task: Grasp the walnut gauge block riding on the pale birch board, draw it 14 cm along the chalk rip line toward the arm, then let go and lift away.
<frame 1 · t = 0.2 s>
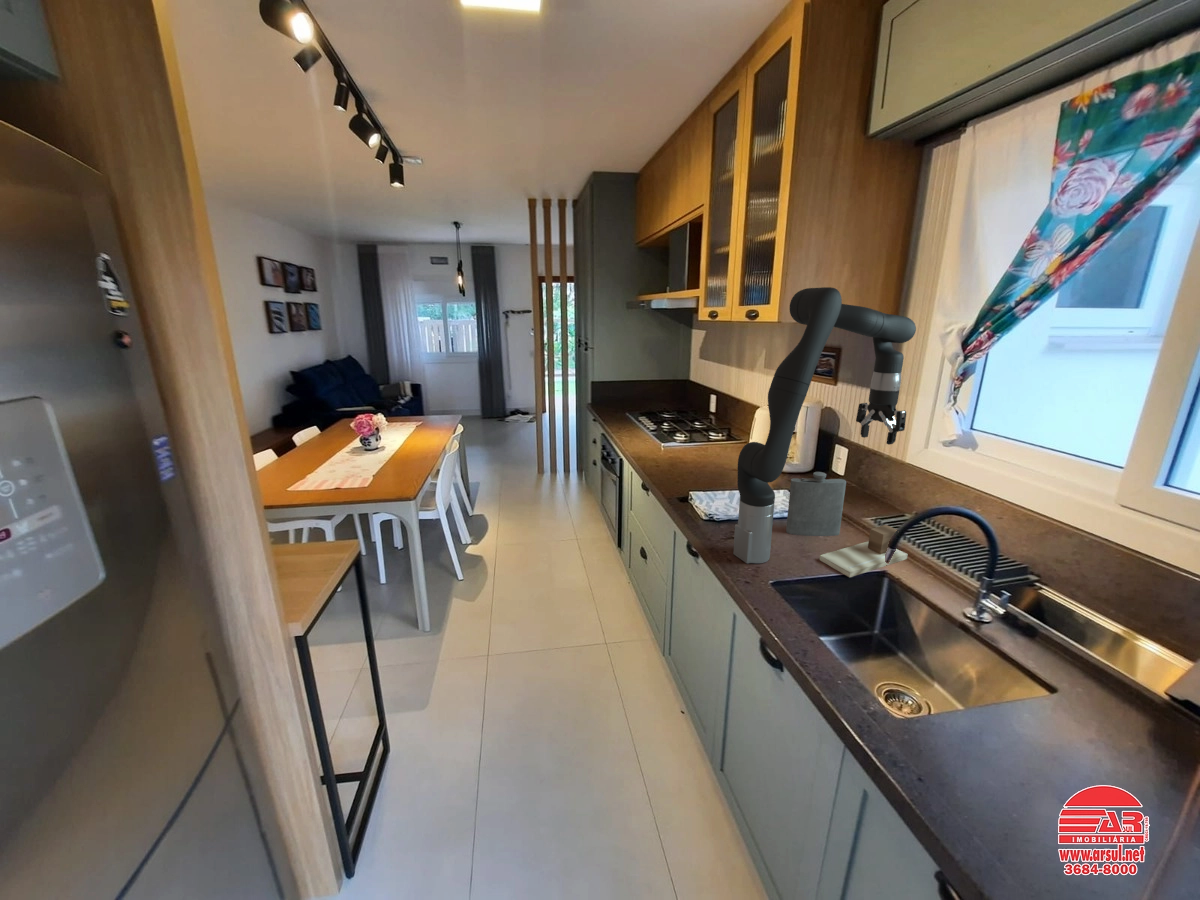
hand: (876, 440, 147), 29 cm above the worktop, fingers open, 8 cm apart
hip flask: (812, 533, 152), on the worktop
walnut gauge: (883, 539, 137), point 5 cm above the worktop, slide at 0.0 cm
birch board: (863, 559, 136), on the worktop
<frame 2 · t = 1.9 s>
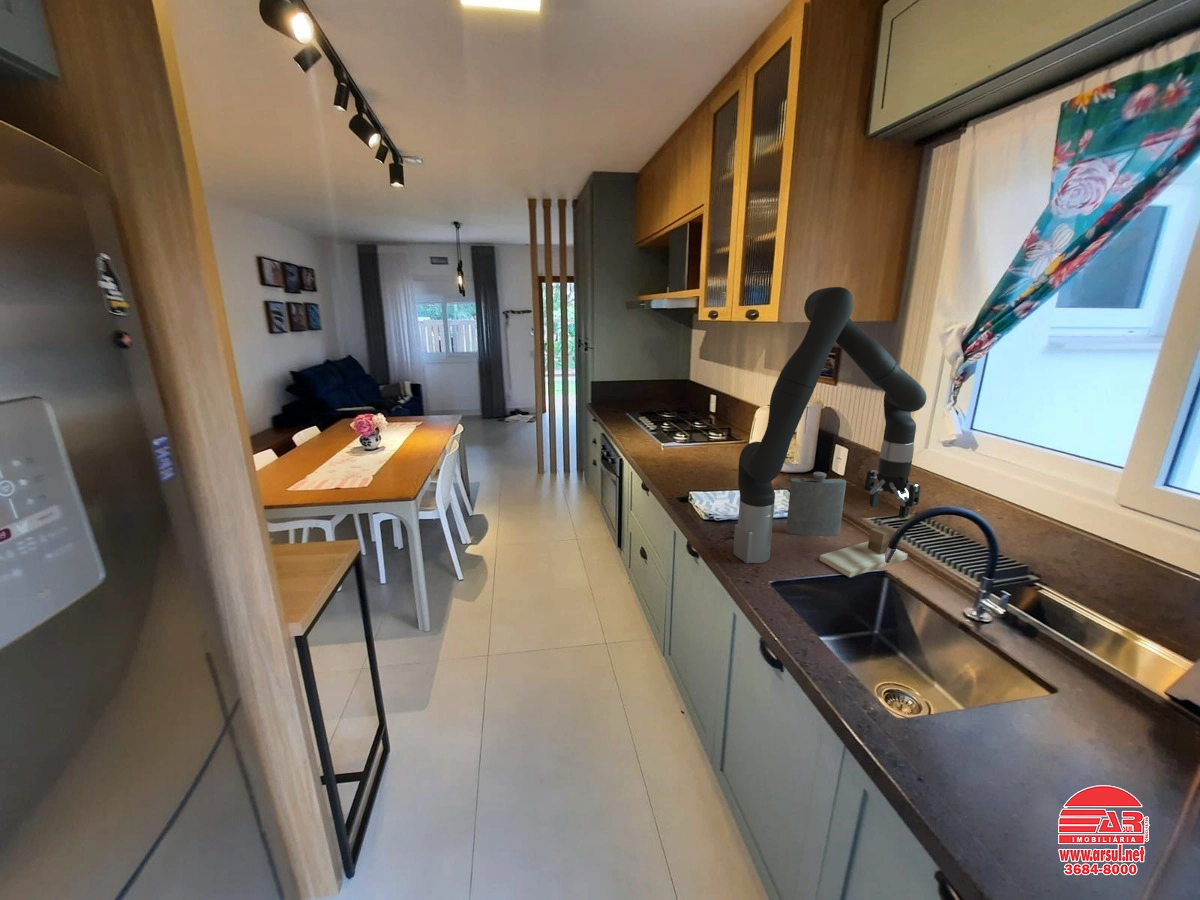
hand: (887, 512, 135), 13 cm above the worktop, fingers open, 8 cm apart
nothing on the worktop moved.
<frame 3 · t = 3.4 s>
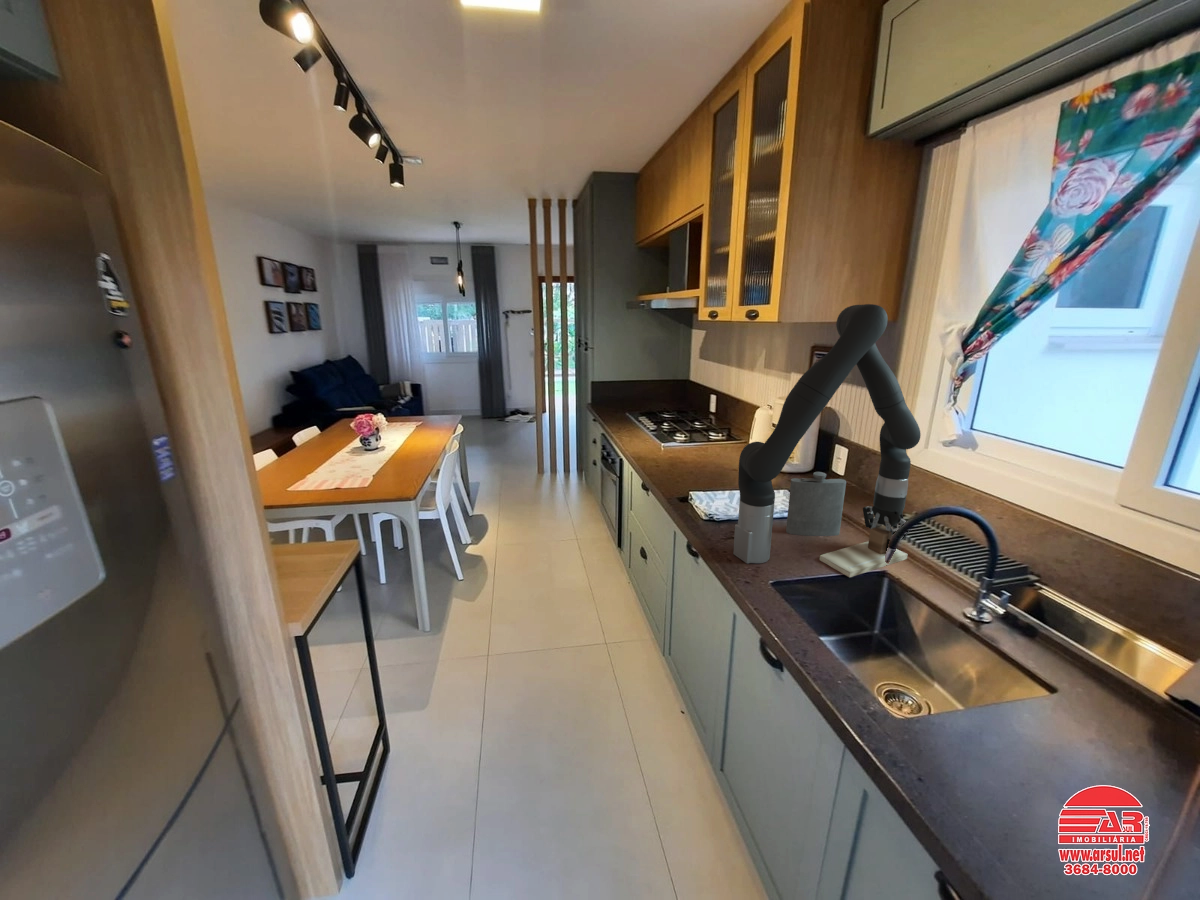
hand: (881, 546, 138), 2 cm above the worktop, fingers closed on walnut gauge, 4 cm apart
walnut gauge: (883, 539, 137), point 5 cm above the worktop, slide at 0.0 cm, touching gripper
everything else where it was.
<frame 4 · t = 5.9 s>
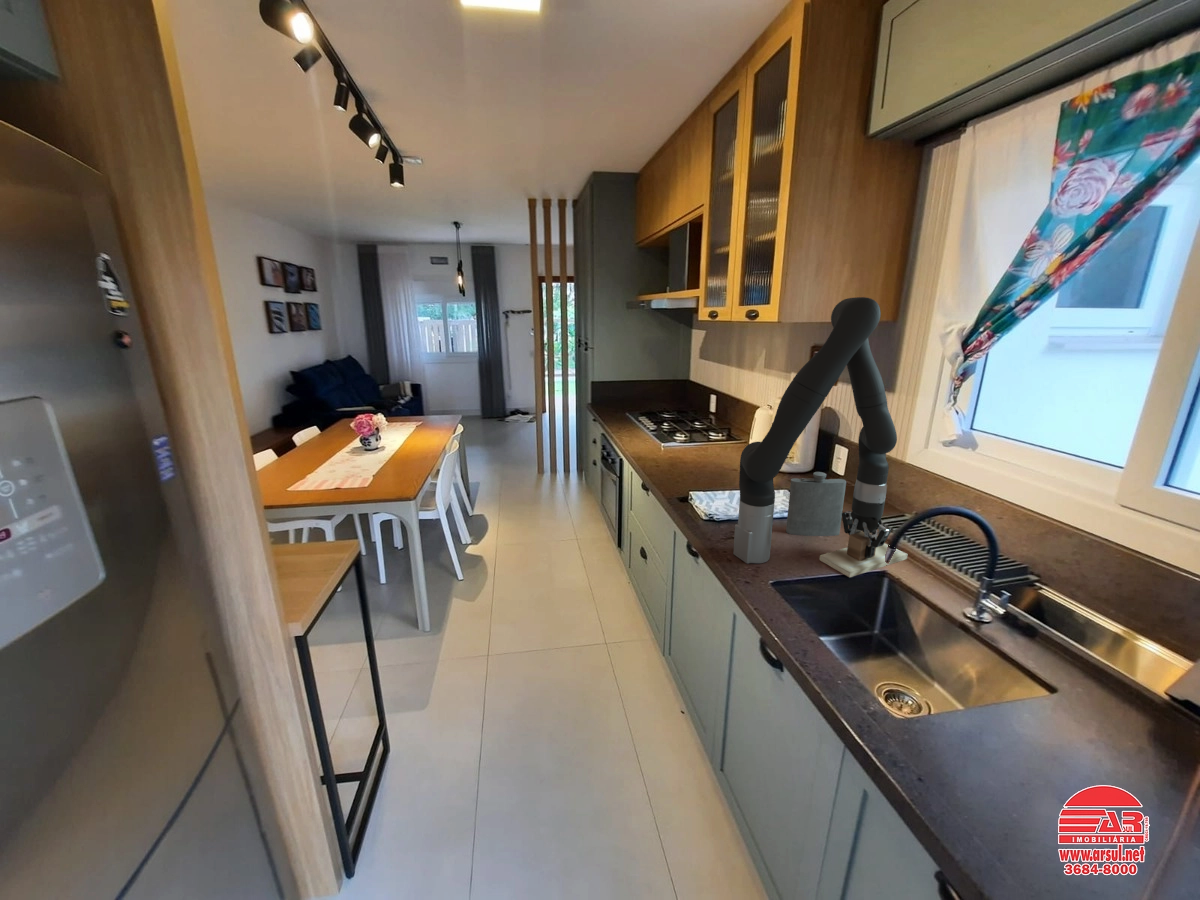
hand: (861, 553, 135), 2 cm above the worktop, fingers closed on walnut gauge, 4 cm apart
walnut gauge: (862, 545, 134), point 5 cm above the worktop, slide at -8.3 cm, touching gripper
everything else where it was.
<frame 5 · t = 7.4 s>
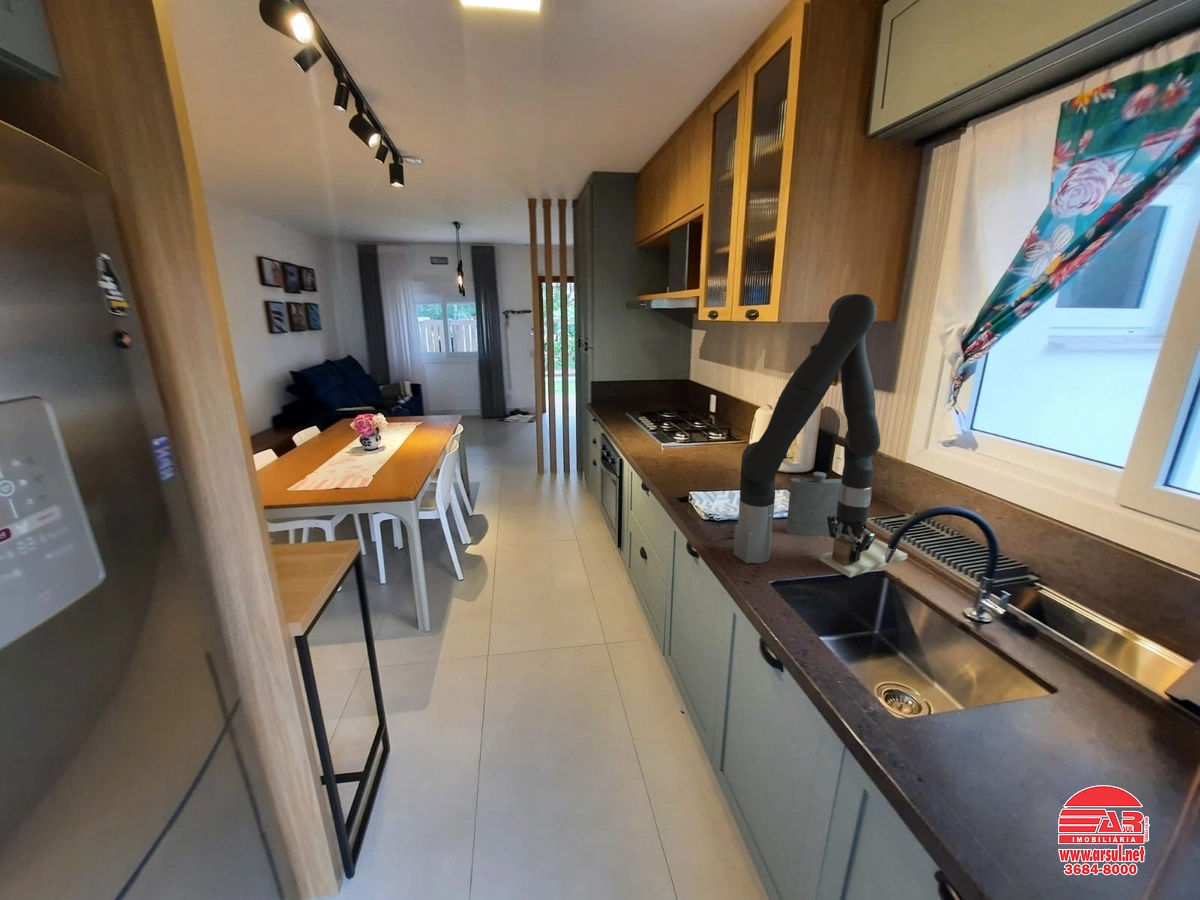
hand: (846, 557, 133), 2 cm above the worktop, fingers closed on walnut gauge, 4 cm apart
walnut gauge: (847, 549, 132), point 5 cm above the worktop, slide at -13.9 cm, touching gripper
everything else where it was.
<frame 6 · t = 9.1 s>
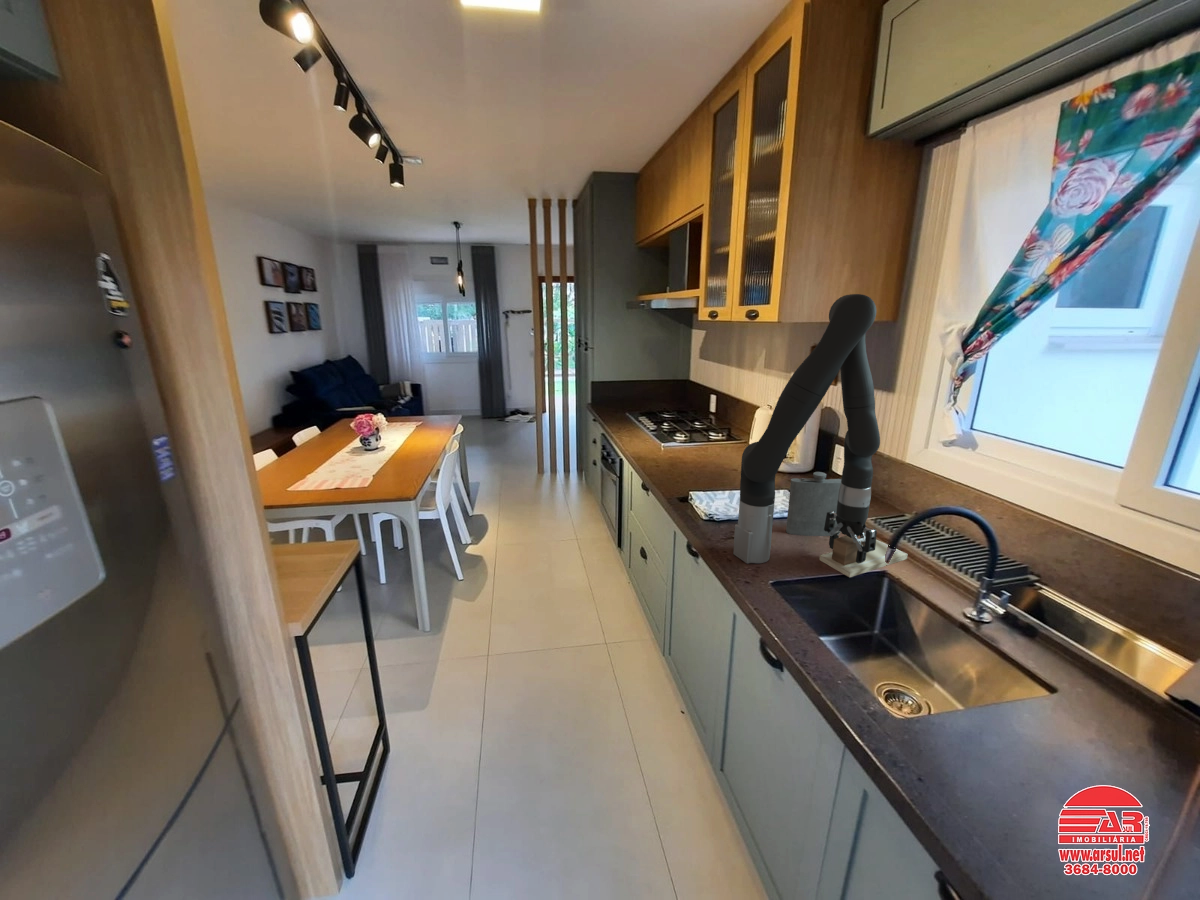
hand: (846, 555, 133), 3 cm above the worktop, fingers open, 8 cm apart
walnut gauge: (847, 549, 132), point 5 cm above the worktop, slide at -13.9 cm
everything else where it was.
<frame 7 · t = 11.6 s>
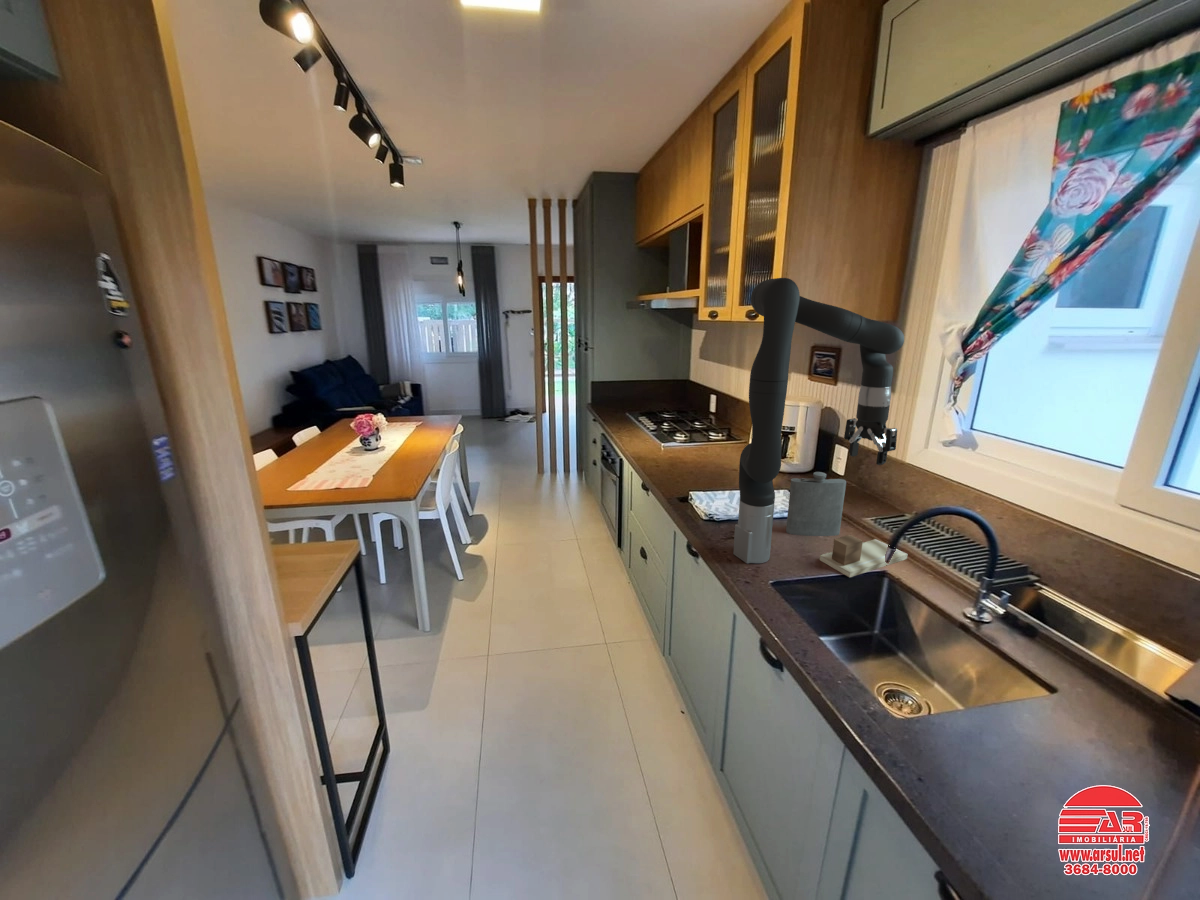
hand: (866, 460, 134), 27 cm above the worktop, fingers open, 8 cm apart
nothing on the worktop moved.
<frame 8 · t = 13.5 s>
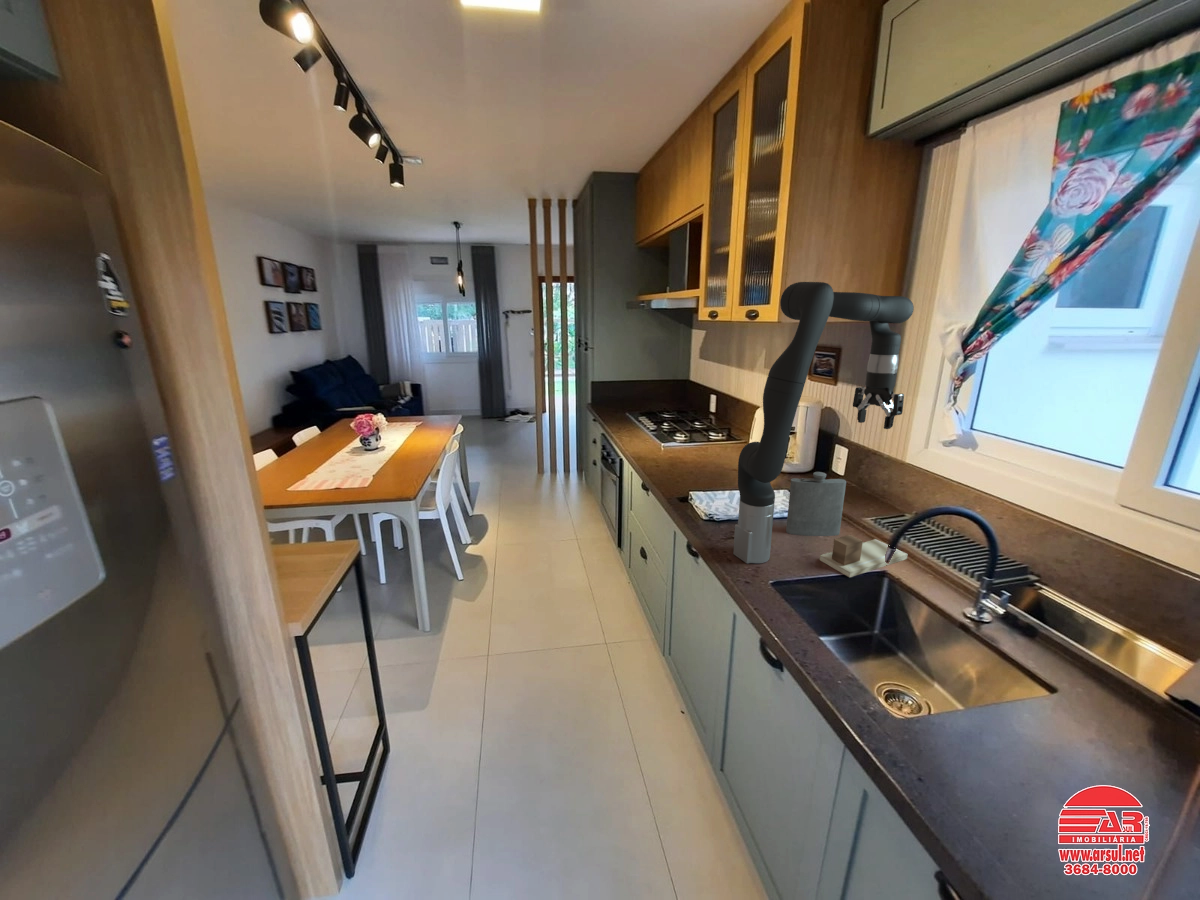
hand: (874, 425, 143), 34 cm above the worktop, fingers open, 8 cm apart
nothing on the worktop moved.
at the end: walnut gauge slide at -13.9 cm; the gripper is holding nothing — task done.
